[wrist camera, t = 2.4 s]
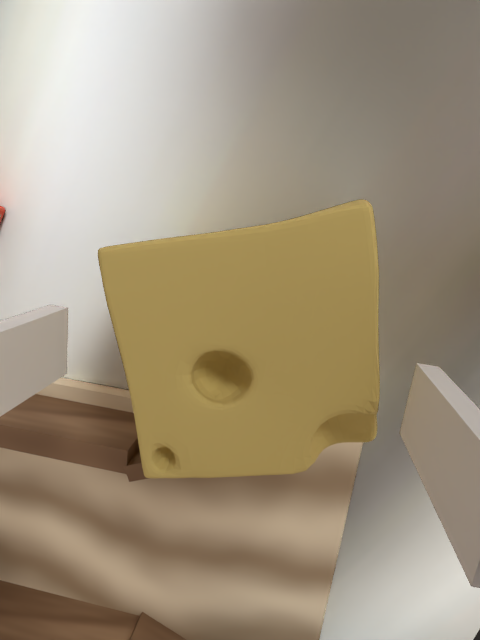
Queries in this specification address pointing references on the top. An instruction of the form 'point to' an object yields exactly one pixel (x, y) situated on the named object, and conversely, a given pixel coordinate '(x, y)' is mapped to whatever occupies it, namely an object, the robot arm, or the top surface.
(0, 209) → the cracker box
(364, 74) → the top surface
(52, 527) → the slot board
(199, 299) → the cheese
